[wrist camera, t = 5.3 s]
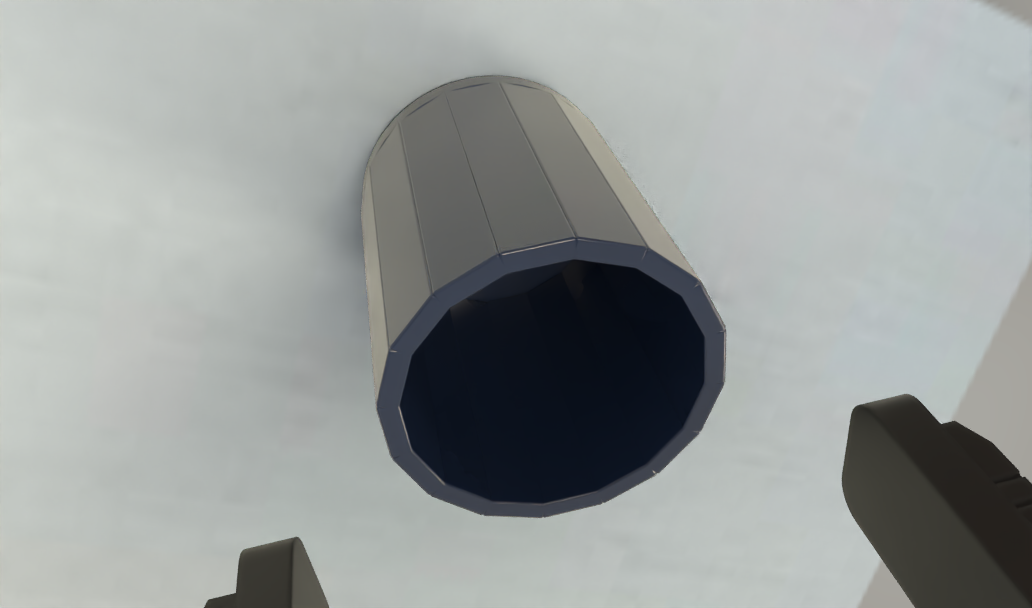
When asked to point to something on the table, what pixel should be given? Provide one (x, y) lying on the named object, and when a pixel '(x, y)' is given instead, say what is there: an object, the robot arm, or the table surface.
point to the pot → (526, 306)
